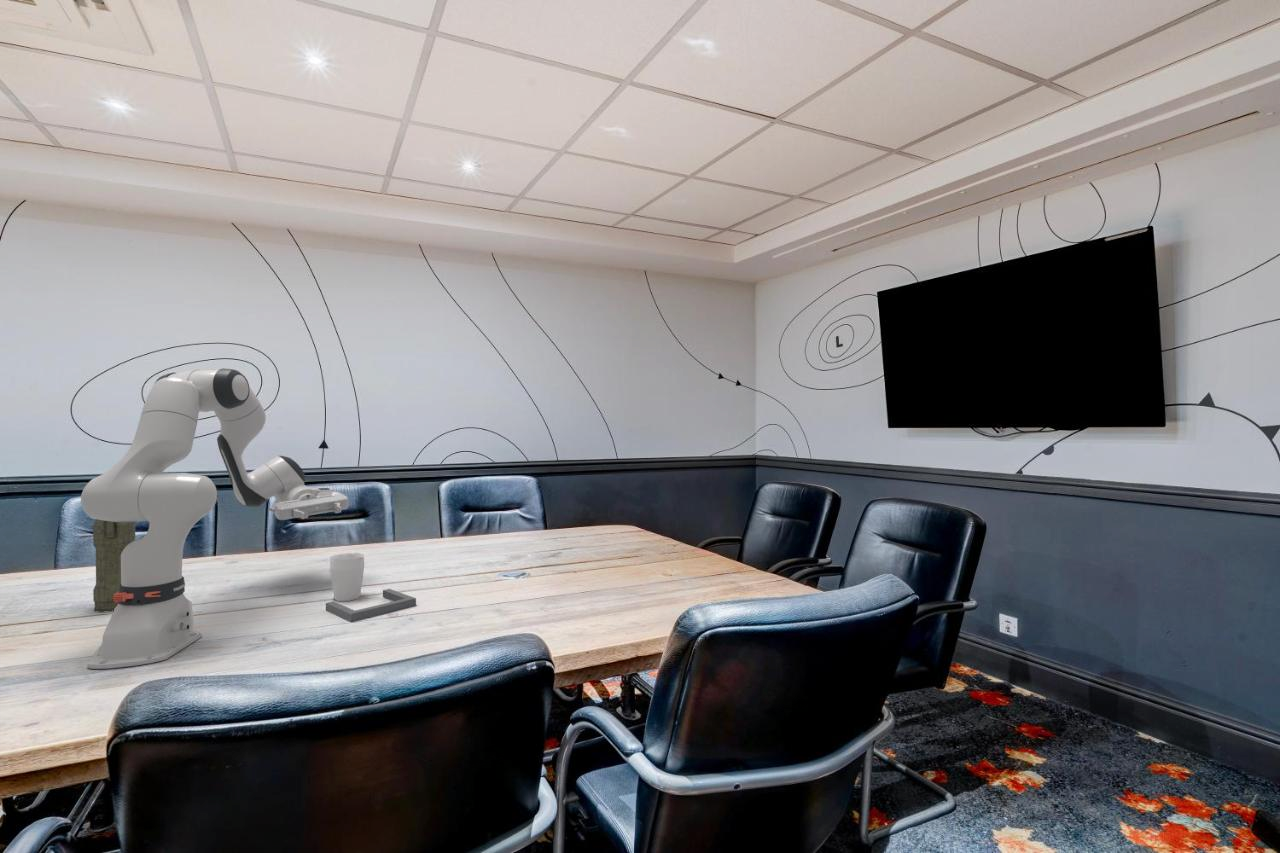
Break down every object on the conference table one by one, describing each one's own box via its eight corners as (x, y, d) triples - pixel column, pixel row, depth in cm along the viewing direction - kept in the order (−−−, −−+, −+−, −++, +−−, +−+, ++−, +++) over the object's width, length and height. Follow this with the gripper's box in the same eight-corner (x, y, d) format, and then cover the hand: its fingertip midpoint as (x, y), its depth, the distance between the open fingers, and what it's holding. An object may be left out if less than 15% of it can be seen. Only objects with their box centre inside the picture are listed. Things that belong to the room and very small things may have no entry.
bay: (325, 610, 166) (325, 602, 166) (389, 595, 180) (389, 588, 180) (350, 622, 157) (350, 614, 157) (416, 605, 171) (416, 598, 171)
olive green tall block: (91, 615, 161) (90, 481, 161) (95, 604, 171) (94, 478, 170) (135, 609, 167) (134, 479, 166) (136, 599, 176) (135, 476, 175)
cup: (355, 602, 173) (355, 560, 173) (323, 602, 173) (323, 559, 173) (370, 593, 182) (369, 552, 182) (339, 593, 182) (339, 552, 182)
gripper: (266, 497, 184) (284, 509, 175) (337, 487, 199) (356, 497, 191) (267, 517, 185) (284, 530, 176) (337, 505, 200) (356, 517, 192)
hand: (322, 513), depth 184 cm, fingers open, 8 cm apart
